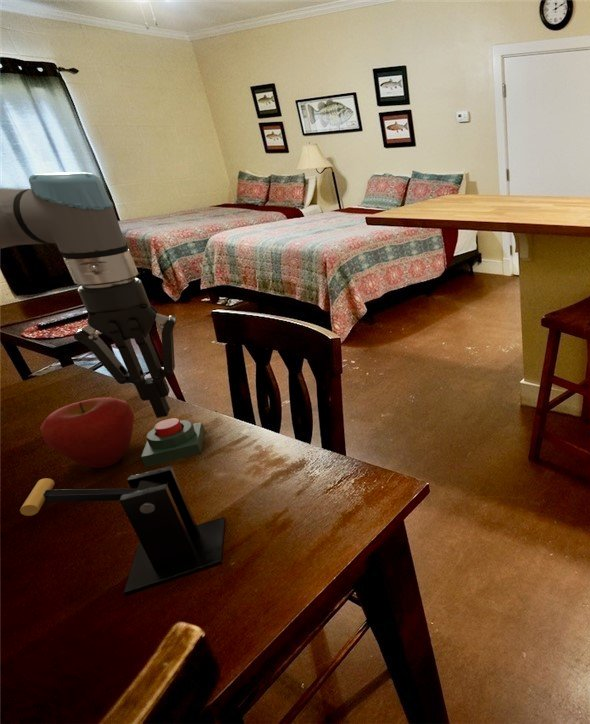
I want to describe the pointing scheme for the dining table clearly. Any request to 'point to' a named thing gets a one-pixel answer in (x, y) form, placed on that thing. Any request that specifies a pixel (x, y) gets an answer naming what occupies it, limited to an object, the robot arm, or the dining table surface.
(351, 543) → the dining table surface
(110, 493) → the lever
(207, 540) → the bracket
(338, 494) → the dining table surface
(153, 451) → the button box
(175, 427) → the button
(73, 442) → the apple
